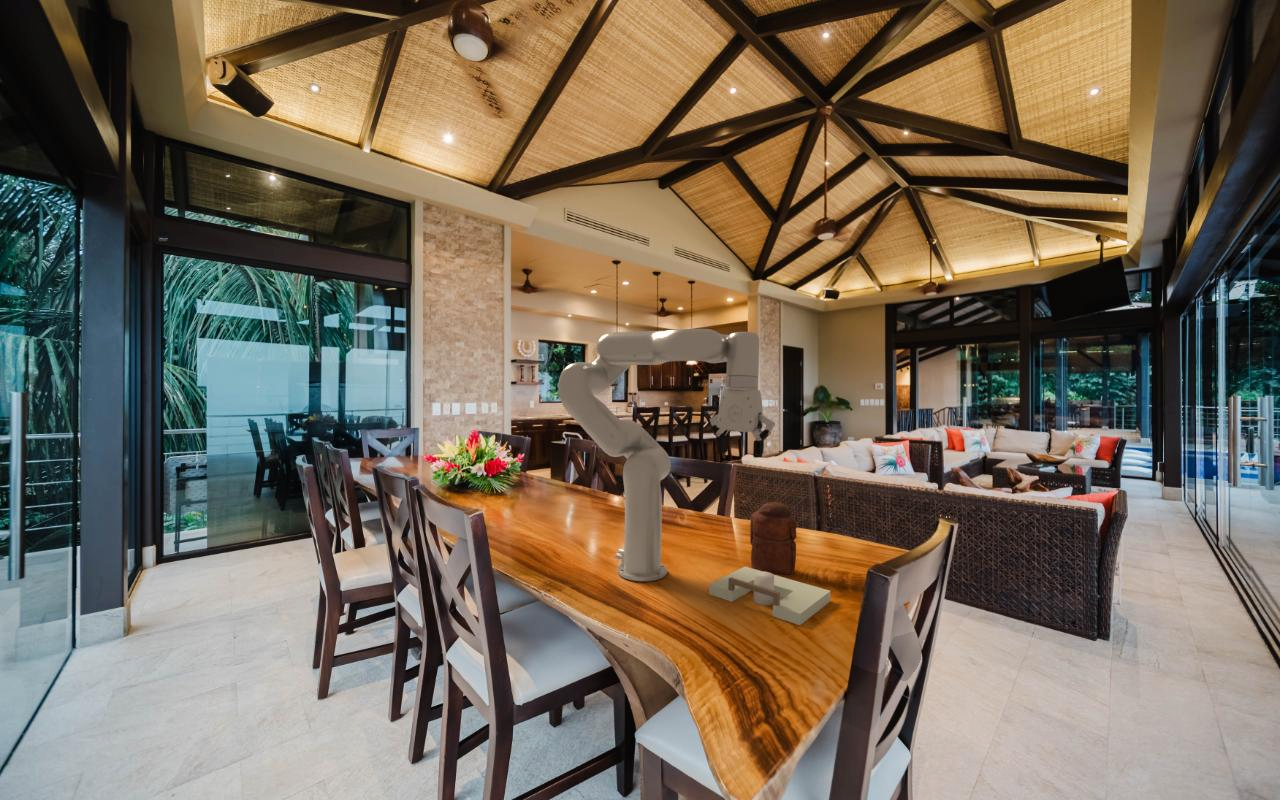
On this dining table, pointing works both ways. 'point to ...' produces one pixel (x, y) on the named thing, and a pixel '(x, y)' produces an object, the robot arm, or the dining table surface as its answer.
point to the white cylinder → (767, 582)
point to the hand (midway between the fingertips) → (739, 454)
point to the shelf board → (774, 594)
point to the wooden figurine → (773, 539)
